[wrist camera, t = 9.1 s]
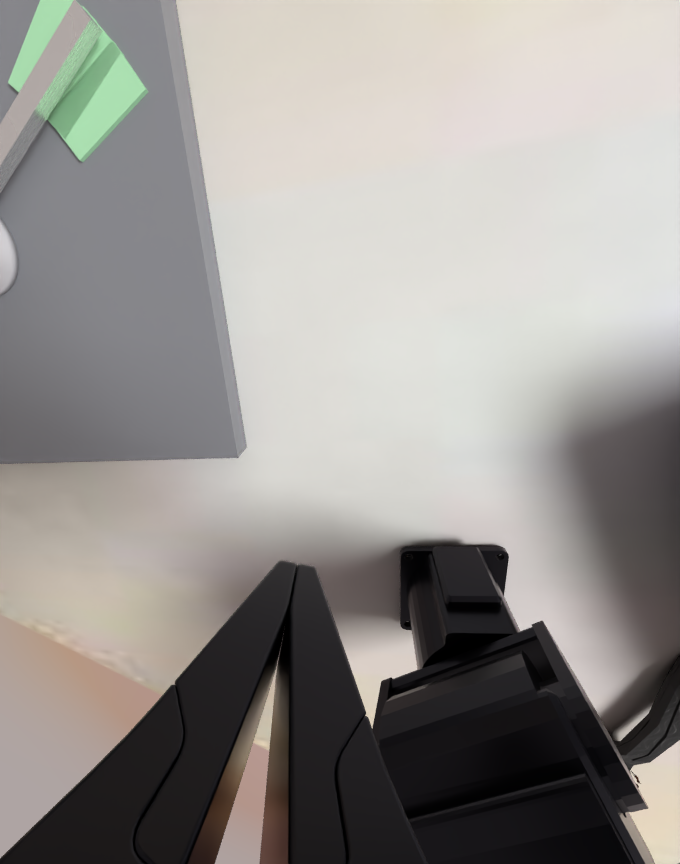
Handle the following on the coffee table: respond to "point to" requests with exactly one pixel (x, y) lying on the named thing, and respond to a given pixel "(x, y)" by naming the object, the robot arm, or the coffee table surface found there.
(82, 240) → the grey flat panel
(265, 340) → the coffee table surface
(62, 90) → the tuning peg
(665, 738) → the hairbrush
